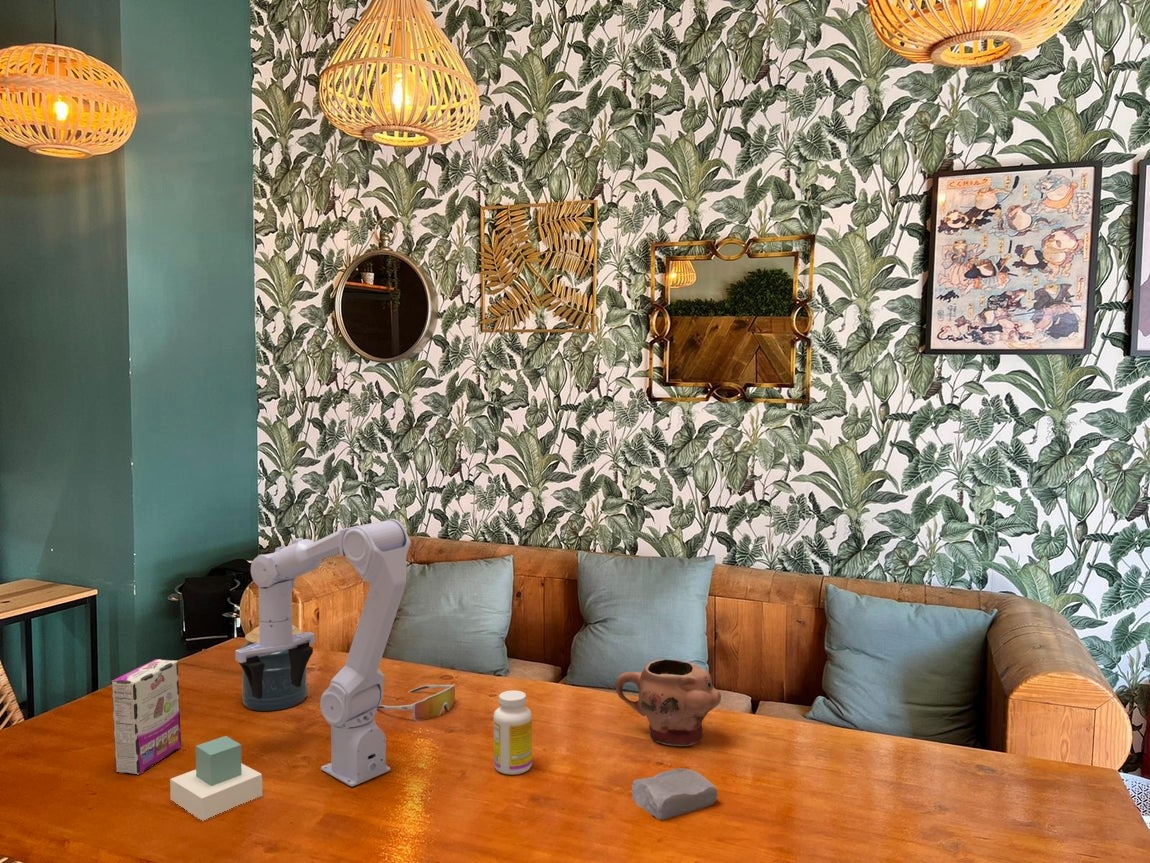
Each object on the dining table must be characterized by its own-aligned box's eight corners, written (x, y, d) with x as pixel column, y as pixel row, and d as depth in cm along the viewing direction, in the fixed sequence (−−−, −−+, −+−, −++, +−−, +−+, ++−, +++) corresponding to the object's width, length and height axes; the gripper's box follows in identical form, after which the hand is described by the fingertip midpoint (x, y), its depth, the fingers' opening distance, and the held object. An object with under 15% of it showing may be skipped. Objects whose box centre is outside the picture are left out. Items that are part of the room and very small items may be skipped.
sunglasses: (423, 727, 161) (420, 702, 161) (368, 721, 169) (365, 697, 169) (469, 703, 173) (466, 680, 173) (416, 699, 181) (413, 676, 181)
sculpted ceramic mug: (610, 746, 152) (610, 672, 151) (618, 720, 164) (618, 651, 163) (720, 755, 149) (721, 680, 148) (720, 727, 161) (721, 657, 160)
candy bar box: (158, 745, 152) (155, 658, 151) (182, 747, 151) (180, 659, 150) (112, 773, 141) (109, 679, 140) (138, 776, 140) (135, 681, 139)
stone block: (625, 808, 134) (660, 824, 125) (623, 777, 135) (658, 791, 126) (685, 793, 140) (722, 808, 131) (683, 764, 140) (719, 776, 132)
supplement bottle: (538, 763, 146) (538, 691, 145) (520, 779, 140) (520, 705, 139) (505, 755, 148) (505, 685, 148) (486, 771, 142) (486, 698, 142)
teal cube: (241, 774, 133) (241, 744, 133) (211, 786, 130) (210, 755, 129) (226, 765, 137) (225, 735, 136) (196, 776, 133) (195, 745, 132)
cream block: (262, 798, 134) (262, 774, 134) (202, 823, 126) (201, 798, 126) (229, 779, 140) (229, 756, 140) (170, 803, 132) (170, 779, 132)
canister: (262, 687, 181) (260, 608, 180) (318, 690, 179) (317, 610, 178) (229, 710, 168) (227, 625, 167) (289, 714, 166) (287, 628, 165)
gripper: (300, 605, 158) (301, 675, 159) (226, 622, 147) (228, 696, 148) (320, 612, 154) (321, 684, 155) (245, 630, 143) (247, 707, 144)
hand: (277, 691), depth 151 cm, fingers open, 7 cm apart
